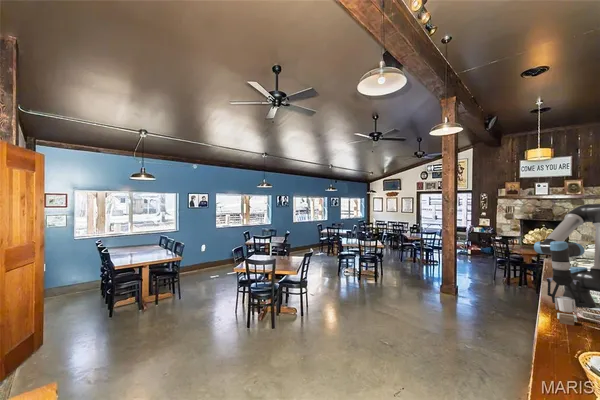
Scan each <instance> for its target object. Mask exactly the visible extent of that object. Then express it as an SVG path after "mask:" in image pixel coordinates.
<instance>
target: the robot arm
mask: <svg viewBox="0 0 600 400" xmlns="http://www.w3.org/2000/svg"><path fill="white" fill-rule="evenodd" d="M585 223H592V224H591V225H593V226H594V227H595V237H594V239H595V240H594V256H593V257H594V258H593V259H594V260H593V261H594V262H593V266H591V267H590V269H588V268H587V267H584V266H573V267H572V266H571V263H570V258H574V257H575V258H577V257H580V256H583V255H584V254H585V252H586V250H585V247H584V246H583V245H582V244H580V243H575V242H574V243H573V242H571V243H568V242H567V241H565V240H567V239H568V237H570V235H571V234H572V233H573V232H574V231H575V230H576V228H578V227H580V226H582V225H583V224H585ZM533 250H534V251H535V252H536V253H537V254H540V255H541V254H542V255H550V256H551V257H550V258H551V266H552V267H551V268H552V277H546V281H547V294H546V295H547V296H548V297H551V302H552V303H553V304H554V305H555V310H556V311H557V310H558V311H559V308H558V303H557V298H556V297H557V296H556V294H557V292H558V289H559V287H560V286H561V287H564V291H563V294H562V297H569V298H572V299H573V312H574V313H577V309H576V308H586V307H589V308H588V309H590V308H596V301H595V300H594V297H593V295H592V294H591V291H594V292H598V293H600V203H587V204H582V205H579V206H577V207H575V208H573V209H571V210H570V211H569V212H567V213H566V214H565V216H564V219H563V220H562V221H561V222H560V223H559V224H558V225H557V226H556V227H555V228H554V229H553V231H552V232H551V233H550V234H548V236H547V237H546V238H545V239H544V240H543V241H536V242H535V243H534V245H533ZM552 281H553V282H554V283H555V286H554V289H553V290H552V293H551V287H552V286H551V285H552V284H551V283H552Z"/></svg>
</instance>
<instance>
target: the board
mask: <svg viewBox="0 0 600 400" xmlns="http://www.w3.org/2000/svg"><path fill="white" fill-rule="evenodd" d="M560 314H564V312H562V313H561V312H557V313H556V316H557V318H556V319H558V320H560V319H559V315H560ZM566 314H567V315H571V314H570V313H569V314H568V313H566ZM572 315H573V316H574V322H578V318H577V315H575V314H572Z"/></svg>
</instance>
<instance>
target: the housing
mask: <svg viewBox="0 0 600 400" xmlns="http://www.w3.org/2000/svg"><path fill="white" fill-rule="evenodd" d="M567 314H568V313H563V314H560V315H559V319H558V320H559V324H564V325H568V326H569V325H570V326H575V321H574V316H573V315H574V314H570V315H567Z"/></svg>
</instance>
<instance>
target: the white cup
mask: <svg viewBox="0 0 600 400" xmlns="http://www.w3.org/2000/svg"><path fill="white" fill-rule="evenodd" d="M555 297H556V298H557V307H558V311H560V312H562V313H573V312H574V306H573V299H572V298H569V297H563V295H562V296H555Z"/></svg>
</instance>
